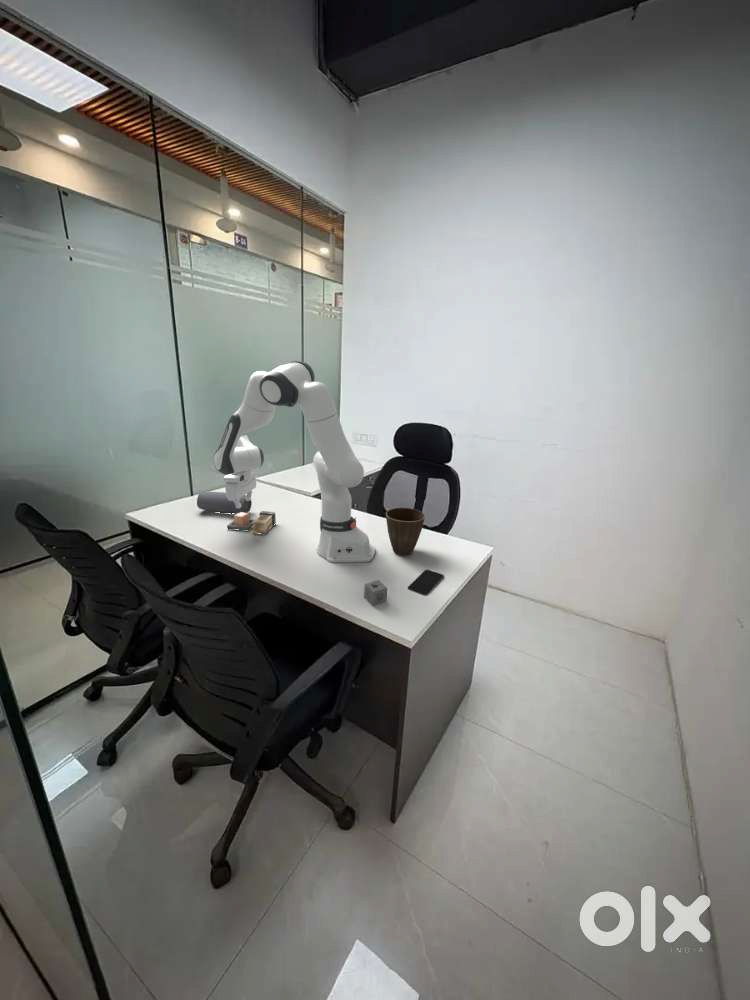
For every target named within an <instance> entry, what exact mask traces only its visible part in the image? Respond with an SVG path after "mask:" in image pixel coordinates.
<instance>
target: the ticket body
mask: <svg viewBox="0 0 750 1000" xmlns="http://www.w3.org/2000/svg"><path fill="white" fill-rule="evenodd" d="M275 523H276V524H277V520H276V512H275V511H268V510H267V511H266V510H264V511H263V510H261V511H260V512H259V516H258V517H257V518H256V519H255V521H254V522H253V527H252V534H253V533H261V534H260V535H263V534H265V533H266V532H267V531H268V530H269V531H270V529H271V528H272V527H273V526H272V525H274V524H275ZM276 524H275V525H276ZM271 526H272V527H271ZM270 527H271V528H270ZM269 528H270V529H269ZM269 531H268V532H269ZM268 532H267V533H268ZM267 533H266V534H267ZM266 534H265V535H266Z"/></svg>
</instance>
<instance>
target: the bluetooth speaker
mask: <svg viewBox="0 0 750 1000" xmlns="http://www.w3.org/2000/svg"><path fill="white" fill-rule="evenodd" d="M246 497H247V494H246V495H244V496H243V497H241V498H240V501H239V502H240V503H241V508H236V505H235V503H234V501H229V500H228V499H227V496H226V492H223V491H200V492H199V493H198V495H197V497H196V507H197V508H198V509H199V510H203V511H209V512H213V513H214V512H220V513H231V514H232V513H236V514H238V513H240V512H244V513H249V512H250V511H251V509H252V499H251V500H250V501H246Z"/></svg>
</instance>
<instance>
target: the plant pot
mask: <svg viewBox="0 0 750 1000" xmlns="http://www.w3.org/2000/svg"><path fill="white" fill-rule="evenodd" d="M425 518H426V515H425V514H424V512H423V511H421V510H419V509H415V508H410V507H395V508H394V507H393V508H390V509H388V510H387V511H386V512H385V519H386V520H385V521H386V526H387V534H388V537H389V542H390V545H391V549H392V551H393V553H394V555H397V556H401V557H406V556H410V555H412V554H413V551H414V550H415V548H416V545H417V543H418V541H419V538H420V536H421V532H422V530H423V526H424V523H425Z"/></svg>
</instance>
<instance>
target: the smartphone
mask: <svg viewBox="0 0 750 1000" xmlns="http://www.w3.org/2000/svg"><path fill="white" fill-rule="evenodd" d="M444 578H445V575H444V574H443V573H440V572H437V571H433V570H430V569H424V571H423V572H421V573H420V574H419V575H418V576H417V578H416V579H414V580H413V581H412V582H411V583H410V584H409V585H408V586H407V590H409V591H410V592H414V593H416V594H418V595H421V596H424V597H427V596H429V594H431V592H432V591H433V590H434V589H435V588H436V587H437V586H438V585H439V583H441V582H442V580H444Z"/></svg>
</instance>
